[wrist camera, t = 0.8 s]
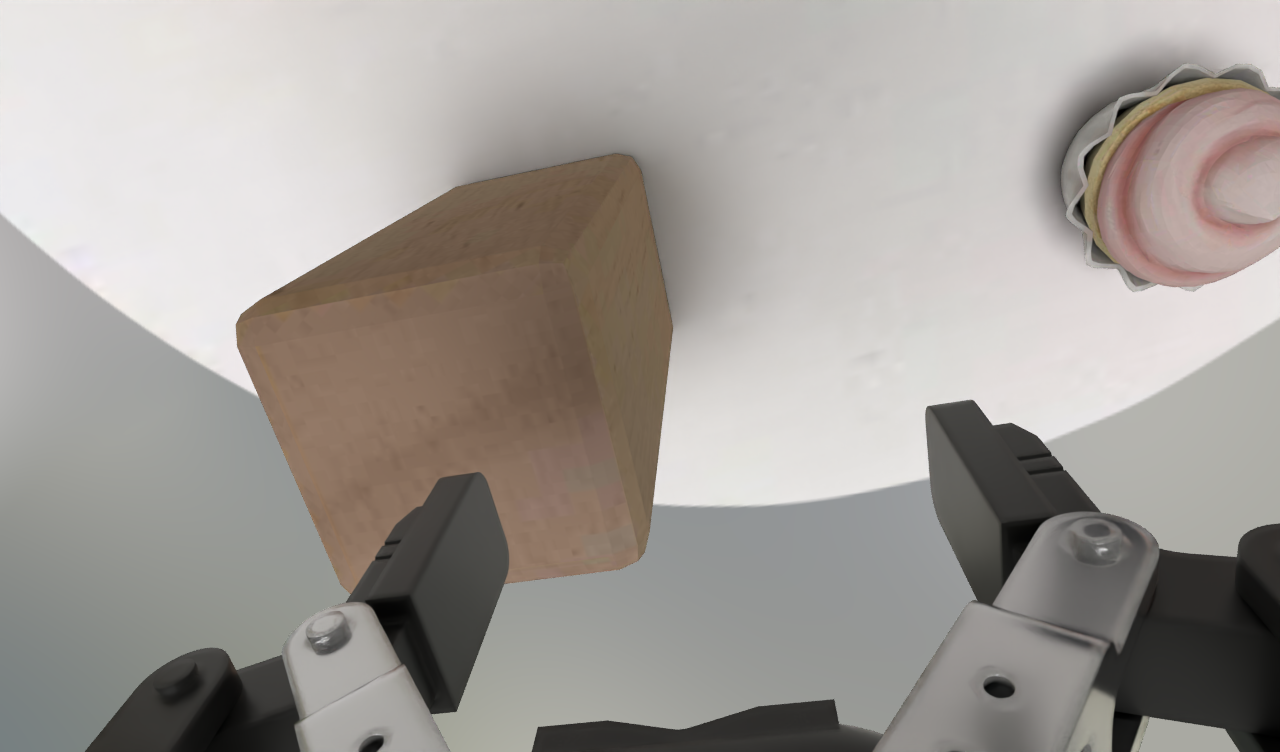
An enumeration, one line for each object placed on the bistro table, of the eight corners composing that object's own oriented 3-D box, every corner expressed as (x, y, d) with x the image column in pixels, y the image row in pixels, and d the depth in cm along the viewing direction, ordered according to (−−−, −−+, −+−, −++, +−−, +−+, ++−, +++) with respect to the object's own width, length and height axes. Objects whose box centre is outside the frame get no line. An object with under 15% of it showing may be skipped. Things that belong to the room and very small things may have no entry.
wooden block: (443, 187, 38) (205, 317, 20) (638, 146, 37) (572, 247, 19) (498, 369, 42) (339, 617, 24) (677, 338, 41) (654, 579, 22)
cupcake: (991, 240, 37) (1083, 304, 28) (1077, 35, 34) (1216, 33, 24) (1176, 285, 38) (1326, 364, 28) (1282, 87, 34) (1496, 103, 25)
